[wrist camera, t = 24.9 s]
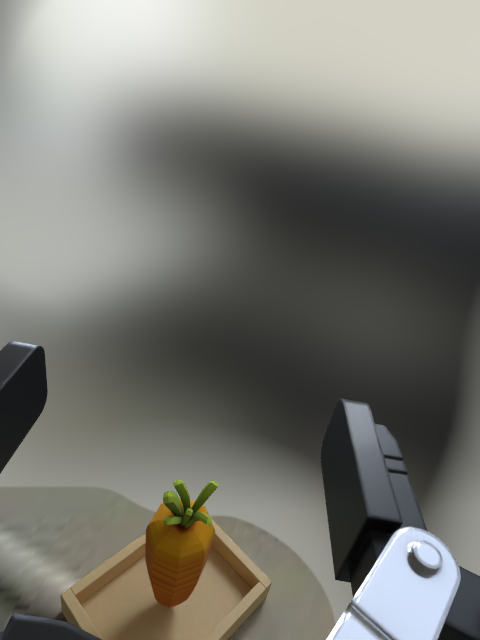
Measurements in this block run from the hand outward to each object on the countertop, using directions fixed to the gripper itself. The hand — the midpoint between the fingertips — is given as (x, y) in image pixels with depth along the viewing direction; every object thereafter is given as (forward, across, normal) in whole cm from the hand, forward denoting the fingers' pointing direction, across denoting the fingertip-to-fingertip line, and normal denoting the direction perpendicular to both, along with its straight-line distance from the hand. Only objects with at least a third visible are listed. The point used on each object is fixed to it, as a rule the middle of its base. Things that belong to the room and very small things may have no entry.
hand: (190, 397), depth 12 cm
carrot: (+10, 0, -32) cm, 33 cm away
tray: (+10, 0, -32) cm, 34 cm away
